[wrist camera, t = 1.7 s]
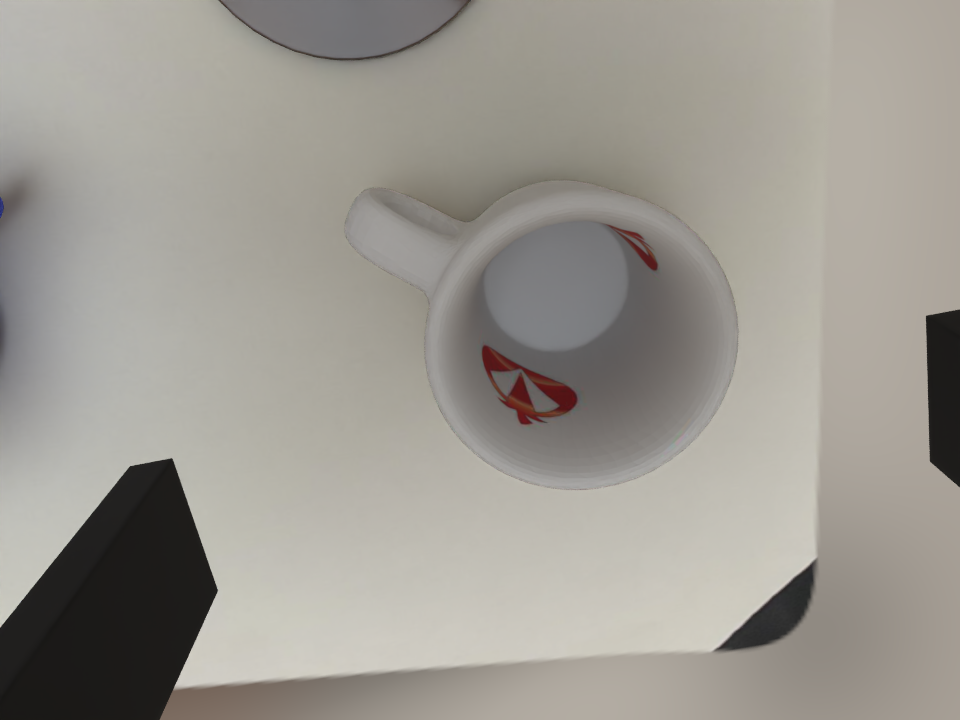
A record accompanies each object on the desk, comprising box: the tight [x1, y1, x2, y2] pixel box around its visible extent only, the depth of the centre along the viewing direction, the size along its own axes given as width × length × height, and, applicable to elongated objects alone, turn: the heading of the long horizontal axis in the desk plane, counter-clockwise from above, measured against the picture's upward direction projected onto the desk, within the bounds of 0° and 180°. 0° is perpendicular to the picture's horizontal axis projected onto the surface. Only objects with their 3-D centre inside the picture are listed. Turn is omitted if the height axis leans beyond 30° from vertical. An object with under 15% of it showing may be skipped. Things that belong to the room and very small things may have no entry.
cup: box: [345, 180, 738, 490], centre depth 25 cm, size 11×8×8 cm
